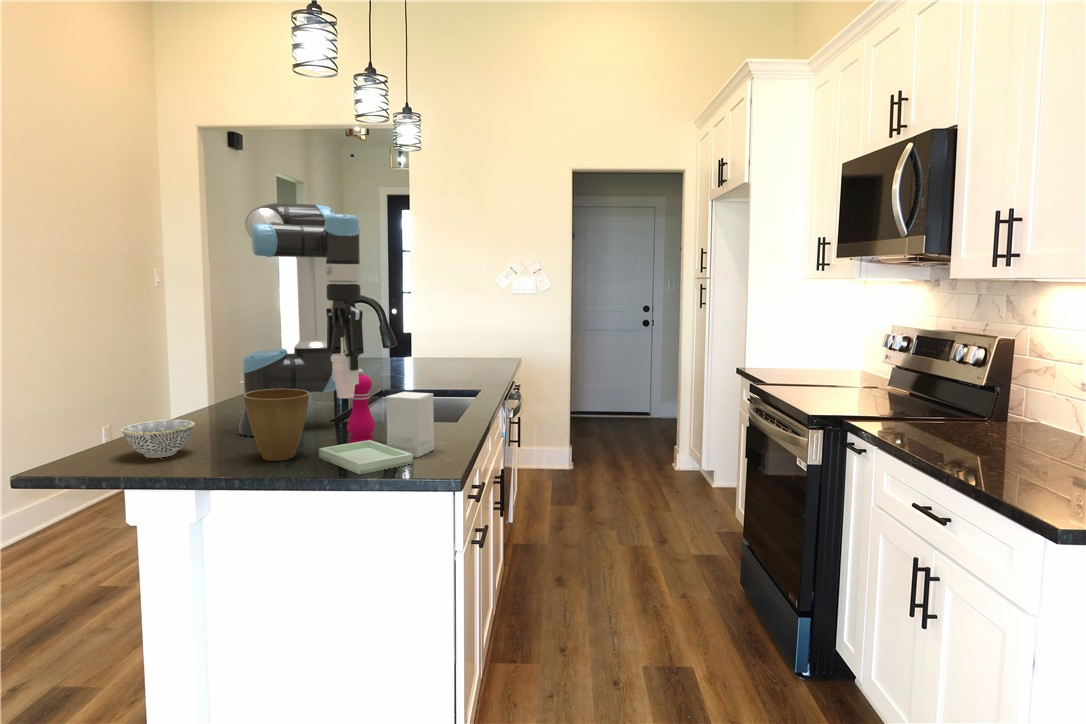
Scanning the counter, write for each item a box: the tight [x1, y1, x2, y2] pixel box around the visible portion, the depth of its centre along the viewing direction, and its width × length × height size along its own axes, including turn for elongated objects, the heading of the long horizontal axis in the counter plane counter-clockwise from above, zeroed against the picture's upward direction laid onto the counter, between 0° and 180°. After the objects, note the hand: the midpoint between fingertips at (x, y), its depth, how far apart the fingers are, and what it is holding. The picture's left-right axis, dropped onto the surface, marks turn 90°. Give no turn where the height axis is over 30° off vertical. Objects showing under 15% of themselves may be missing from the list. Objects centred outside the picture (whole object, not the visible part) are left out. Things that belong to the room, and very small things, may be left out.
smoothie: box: [331, 337, 360, 399], centre depth 167 cm, size 6×6×14 cm
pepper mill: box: [346, 368, 376, 444], centre depth 191 cm, size 7×7×20 cm
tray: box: [318, 440, 414, 475], centre depth 173 cm, size 20×14×2 cm
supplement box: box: [385, 391, 435, 458], centre depth 181 cm, size 9×9×15 cm
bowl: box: [120, 419, 196, 458], centre depth 176 cm, size 16×16×8 cm
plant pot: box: [243, 389, 310, 462], centre depth 175 cm, size 15×15×16 cm
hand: (345, 382), depth 167 cm, fingers closed on smoothie, 6 cm apart
